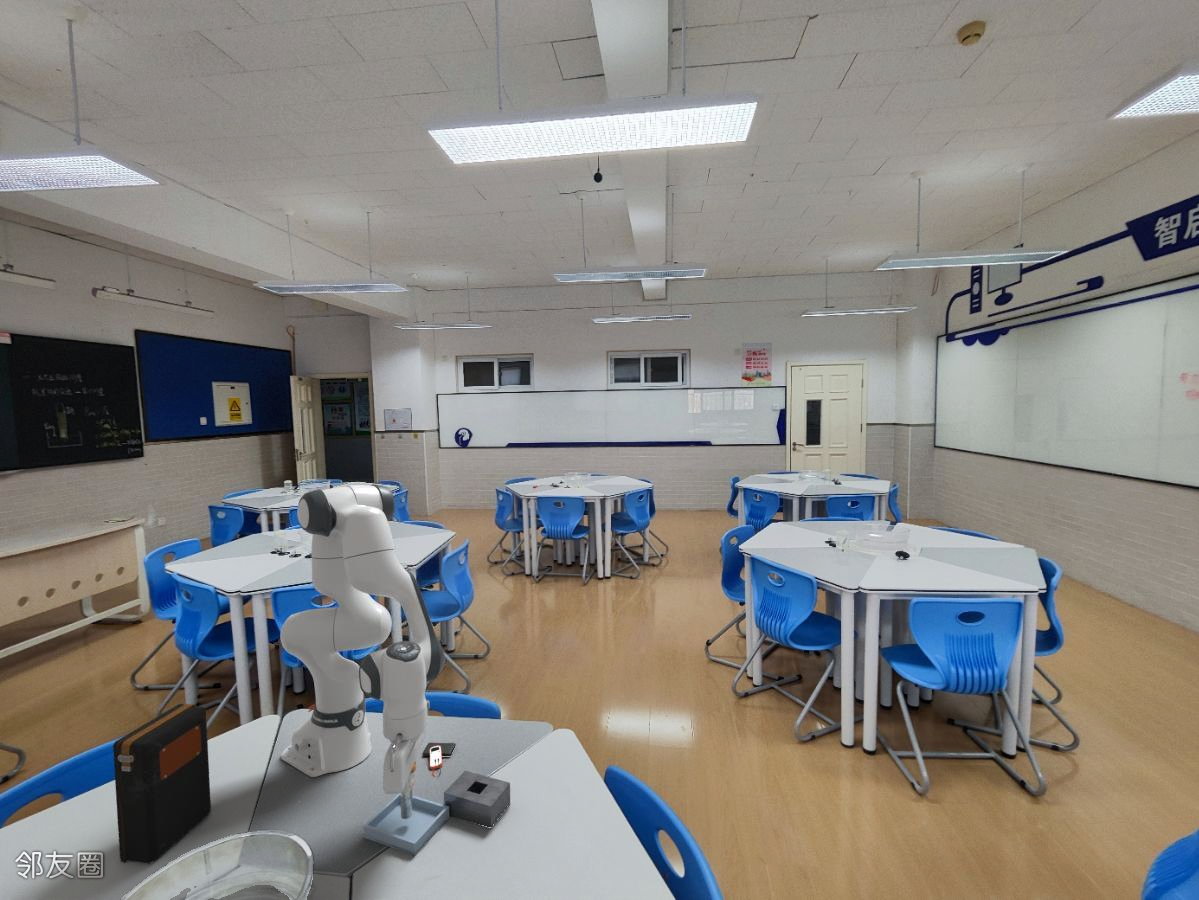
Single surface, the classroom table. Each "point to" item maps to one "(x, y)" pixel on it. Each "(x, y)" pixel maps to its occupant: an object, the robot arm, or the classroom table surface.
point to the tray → (406, 824)
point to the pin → (408, 797)
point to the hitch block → (477, 798)
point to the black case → (161, 782)
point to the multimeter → (438, 753)
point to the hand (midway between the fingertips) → (406, 784)
